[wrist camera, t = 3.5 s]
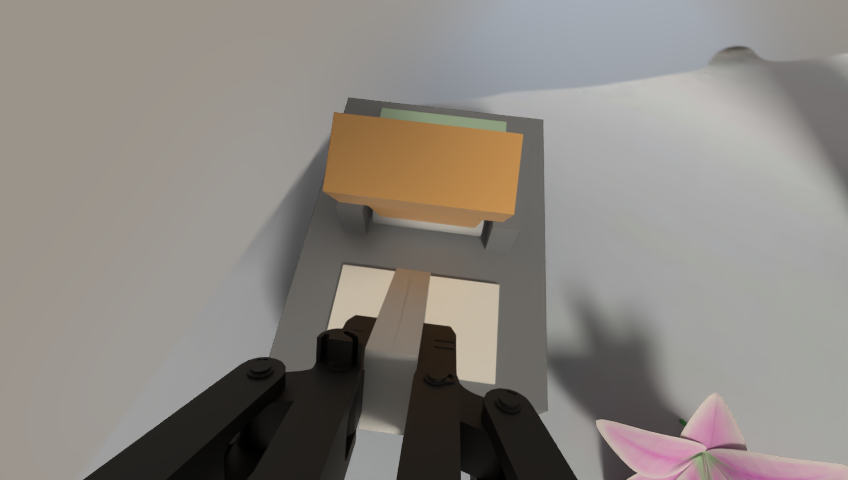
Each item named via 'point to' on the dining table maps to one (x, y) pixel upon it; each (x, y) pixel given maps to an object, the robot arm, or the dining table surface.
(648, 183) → the dining table surface
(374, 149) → the breaker lever
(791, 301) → the dining table surface
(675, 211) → the dining table surface
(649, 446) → the lily
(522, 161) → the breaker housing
